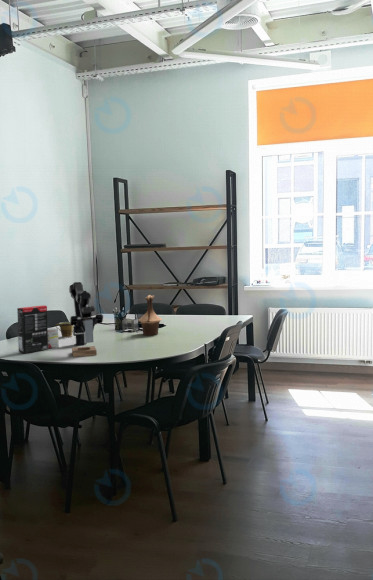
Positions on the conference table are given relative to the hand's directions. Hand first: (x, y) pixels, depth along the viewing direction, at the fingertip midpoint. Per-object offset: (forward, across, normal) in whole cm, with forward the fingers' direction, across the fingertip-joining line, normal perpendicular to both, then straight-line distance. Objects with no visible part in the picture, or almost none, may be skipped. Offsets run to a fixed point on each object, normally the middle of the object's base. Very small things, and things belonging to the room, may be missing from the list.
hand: (88, 331), depth 287 cm
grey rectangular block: (+4, 0, +6) cm, 7 cm away
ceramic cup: (-40, -5, +60) cm, 72 cm away
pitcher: (-25, +52, +44) cm, 73 cm away
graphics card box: (-8, -29, +28) cm, 41 cm away
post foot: (+8, -3, +11) cm, 14 cm away
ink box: (-14, -18, +34) cm, 41 cm away
